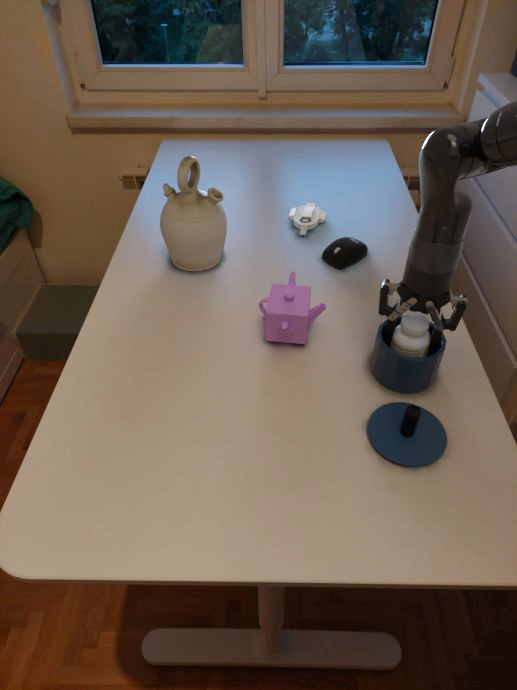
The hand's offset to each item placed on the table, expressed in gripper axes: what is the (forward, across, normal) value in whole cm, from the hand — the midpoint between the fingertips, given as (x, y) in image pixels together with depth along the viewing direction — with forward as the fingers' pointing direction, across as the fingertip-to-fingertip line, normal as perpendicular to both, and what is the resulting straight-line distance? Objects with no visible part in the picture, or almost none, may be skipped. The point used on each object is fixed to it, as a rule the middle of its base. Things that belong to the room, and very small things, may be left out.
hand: (411, 337), depth 89 cm
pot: (+8, 0, 0) cm, 8 cm away
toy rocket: (+8, -33, +47) cm, 58 cm away
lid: (+8, +3, -15) cm, 17 cm away
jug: (+8, -53, +21) cm, 58 cm away
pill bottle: (+8, 0, 0) cm, 8 cm away
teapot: (+8, -23, +3) cm, 25 cm away
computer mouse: (+8, -19, +34) cm, 40 cm away
